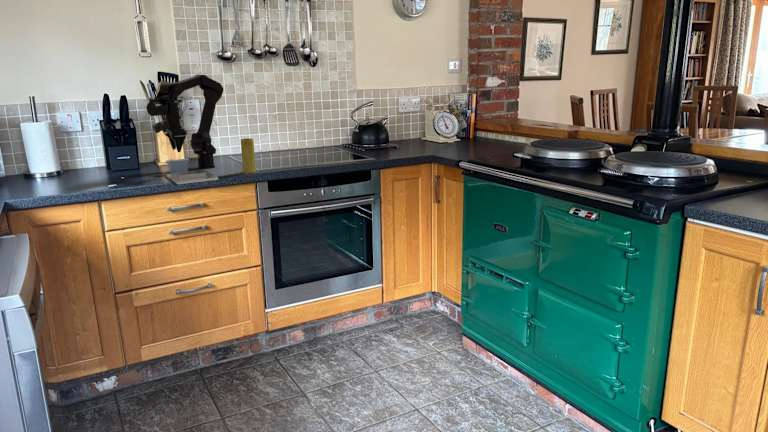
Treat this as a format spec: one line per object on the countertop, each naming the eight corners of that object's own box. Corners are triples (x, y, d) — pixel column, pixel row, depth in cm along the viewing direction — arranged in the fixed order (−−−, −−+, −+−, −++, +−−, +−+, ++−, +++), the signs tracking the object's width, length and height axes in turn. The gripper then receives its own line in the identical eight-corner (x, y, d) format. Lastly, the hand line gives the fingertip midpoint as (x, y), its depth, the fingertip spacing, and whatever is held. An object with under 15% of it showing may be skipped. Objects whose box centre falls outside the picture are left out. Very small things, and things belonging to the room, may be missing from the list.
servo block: (188, 172, 250) (186, 157, 249) (190, 173, 247) (189, 158, 245) (167, 174, 246) (165, 159, 244) (169, 175, 243) (167, 160, 241)
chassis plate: (204, 172, 248) (204, 166, 248) (218, 179, 232) (217, 172, 231) (166, 176, 240) (165, 170, 239) (177, 184, 224) (176, 177, 223)
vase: (242, 174, 243) (239, 140, 239) (242, 171, 249) (239, 138, 245) (257, 173, 244) (254, 139, 241) (256, 170, 250) (253, 138, 246)
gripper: (147, 113, 243) (152, 150, 248) (156, 116, 228) (161, 155, 232) (174, 112, 249) (178, 147, 253) (185, 114, 234) (189, 152, 238)
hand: (176, 150), depth 244 cm, fingers open, 9 cm apart
